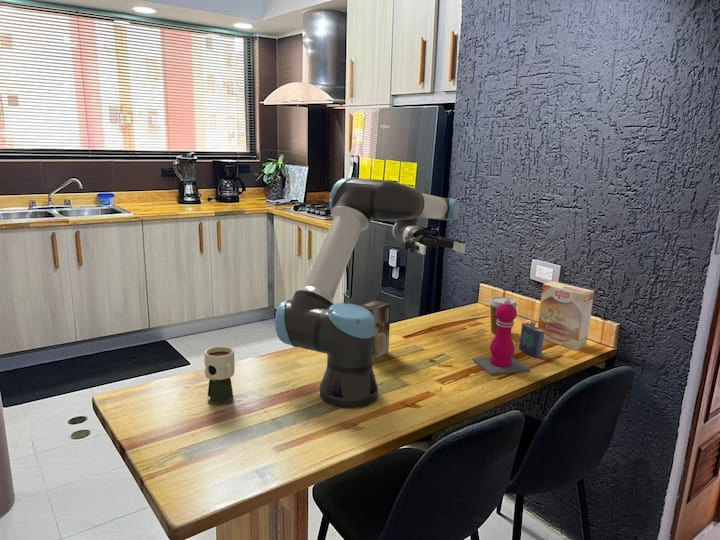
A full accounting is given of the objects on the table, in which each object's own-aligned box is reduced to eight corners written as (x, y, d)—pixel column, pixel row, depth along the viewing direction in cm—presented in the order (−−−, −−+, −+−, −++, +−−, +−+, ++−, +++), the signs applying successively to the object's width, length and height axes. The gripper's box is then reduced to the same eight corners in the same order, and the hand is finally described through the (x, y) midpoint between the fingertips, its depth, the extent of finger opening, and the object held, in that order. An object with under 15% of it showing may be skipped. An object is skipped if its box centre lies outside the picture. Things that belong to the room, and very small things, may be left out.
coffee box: (372, 347, 175) (374, 299, 171) (388, 352, 172) (391, 303, 168) (354, 355, 168) (356, 305, 164) (371, 361, 164) (374, 310, 161)
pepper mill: (516, 362, 166) (523, 299, 161) (508, 370, 160) (516, 304, 155) (492, 356, 169) (499, 294, 165) (484, 363, 164) (491, 299, 159)
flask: (543, 357, 172) (547, 325, 170) (535, 359, 171) (539, 326, 169) (523, 347, 180) (526, 316, 178) (516, 348, 179) (519, 317, 177)
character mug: (197, 395, 139) (195, 347, 136) (223, 388, 143) (222, 341, 140) (217, 412, 131) (216, 361, 128) (244, 404, 135) (243, 354, 132)
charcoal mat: (491, 375, 158) (491, 372, 158) (472, 360, 168) (472, 358, 168) (529, 371, 162) (530, 368, 161) (509, 356, 172) (509, 354, 172)
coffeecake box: (535, 337, 190) (542, 283, 185) (546, 333, 195) (552, 280, 190) (576, 351, 179) (584, 293, 175) (587, 346, 184) (595, 290, 179)
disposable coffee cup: (507, 339, 187) (511, 305, 184) (481, 332, 193) (485, 300, 190) (518, 332, 195) (521, 300, 192) (493, 326, 200) (496, 294, 197)
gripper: (448, 247, 195) (478, 260, 176) (382, 249, 188) (406, 262, 168) (450, 226, 193) (480, 237, 174) (383, 227, 186) (408, 238, 166)
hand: (444, 249), depth 171 cm, fingers open, 13 cm apart
